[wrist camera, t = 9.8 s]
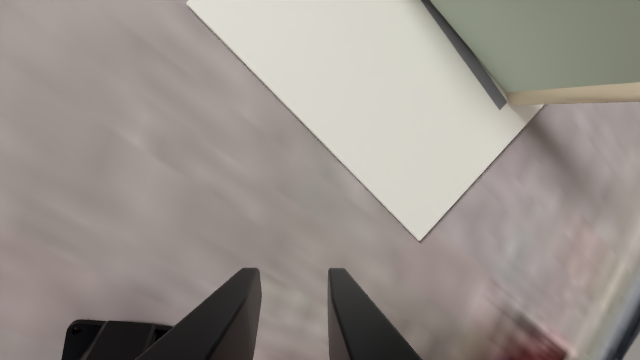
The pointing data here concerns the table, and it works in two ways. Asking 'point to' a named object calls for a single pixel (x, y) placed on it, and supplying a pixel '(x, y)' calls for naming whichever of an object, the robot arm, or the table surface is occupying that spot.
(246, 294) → the robot arm
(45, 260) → the table surface
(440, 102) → the board
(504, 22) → the pale green flat panel
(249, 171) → the table surface
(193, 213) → the table surface
